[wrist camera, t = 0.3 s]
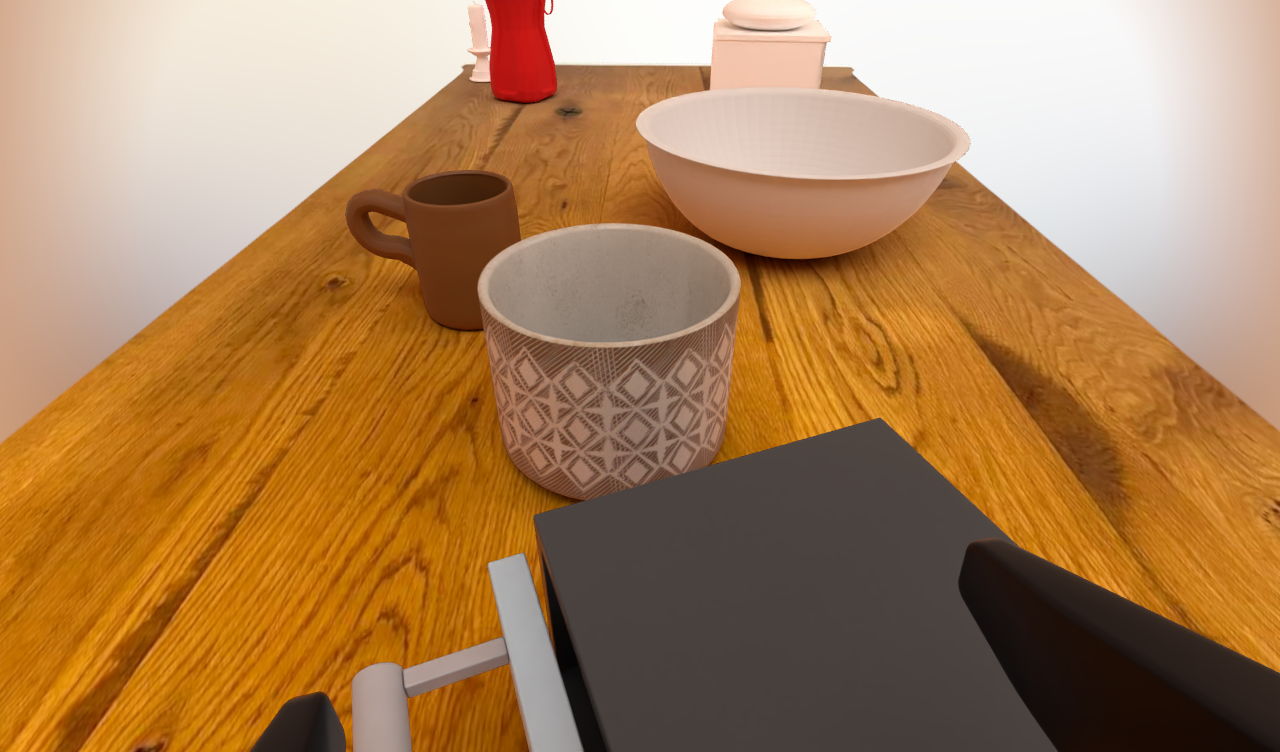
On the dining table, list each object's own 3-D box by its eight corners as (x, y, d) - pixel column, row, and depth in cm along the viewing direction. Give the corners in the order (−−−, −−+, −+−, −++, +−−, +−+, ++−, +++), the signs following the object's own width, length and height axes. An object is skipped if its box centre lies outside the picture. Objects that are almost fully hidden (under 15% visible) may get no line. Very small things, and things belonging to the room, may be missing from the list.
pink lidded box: (711, 72, 119) (717, -29, 109) (810, 75, 117) (825, -28, 108) (709, 95, 105) (716, -20, 95) (821, 98, 103) (839, -18, 94)
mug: (353, 333, 46) (314, 207, 41) (387, 283, 52) (358, 168, 47) (519, 334, 46) (503, 208, 41) (534, 284, 52) (522, 168, 47)
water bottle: (543, 108, 98) (526, -96, 83) (484, 100, 102) (458, -96, 87) (574, 95, 104) (563, -96, 90) (518, 88, 108) (498, -96, 94)
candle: (486, 83, 111) (476, 4, 104) (463, 80, 113) (451, 2, 106) (506, 78, 115) (498, 0, 107) (484, 74, 117) (474, -2, 110)
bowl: (962, 325, 47) (1008, 192, 41) (603, 287, 52) (599, 163, 46) (914, 194, 69) (940, 94, 63) (664, 175, 73) (666, 81, 67)
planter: (769, 459, 36) (797, 295, 30) (565, 556, 30) (546, 380, 24) (648, 351, 44) (650, 206, 38) (472, 412, 39) (441, 255, 33)
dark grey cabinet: (667, 1051, 17) (680, 960, 12) (554, 667, 26) (532, 514, 21) (1044, 837, 21) (1182, 697, 16) (836, 566, 30) (880, 416, 25)
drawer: (428, 1141, 15) (347, 1098, 11) (395, 725, 23) (340, 605, 19) (973, 843, 20) (1064, 733, 16) (795, 583, 28) (823, 462, 24)
